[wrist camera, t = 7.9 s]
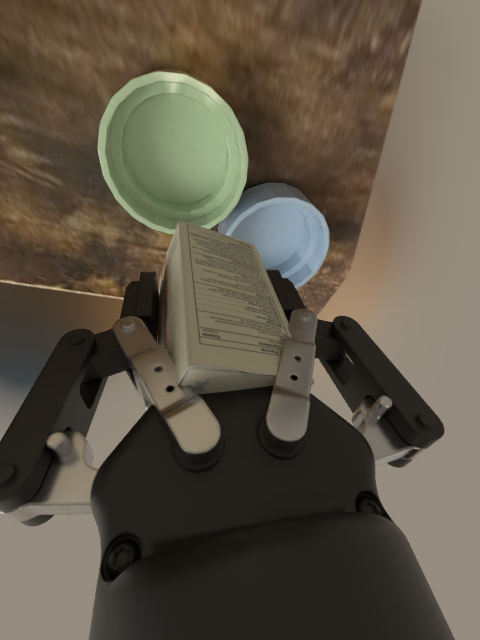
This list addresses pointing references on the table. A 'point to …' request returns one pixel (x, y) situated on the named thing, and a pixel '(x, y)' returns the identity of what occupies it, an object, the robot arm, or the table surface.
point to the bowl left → (172, 151)
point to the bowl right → (280, 230)
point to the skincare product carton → (219, 312)
